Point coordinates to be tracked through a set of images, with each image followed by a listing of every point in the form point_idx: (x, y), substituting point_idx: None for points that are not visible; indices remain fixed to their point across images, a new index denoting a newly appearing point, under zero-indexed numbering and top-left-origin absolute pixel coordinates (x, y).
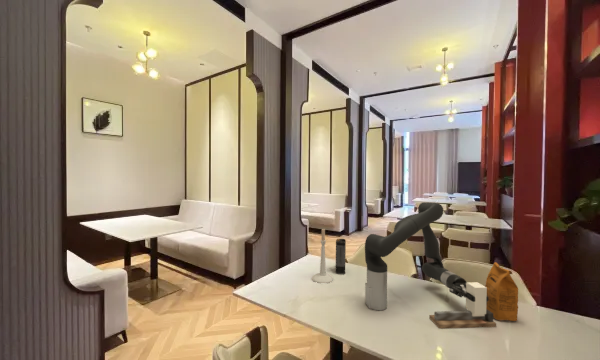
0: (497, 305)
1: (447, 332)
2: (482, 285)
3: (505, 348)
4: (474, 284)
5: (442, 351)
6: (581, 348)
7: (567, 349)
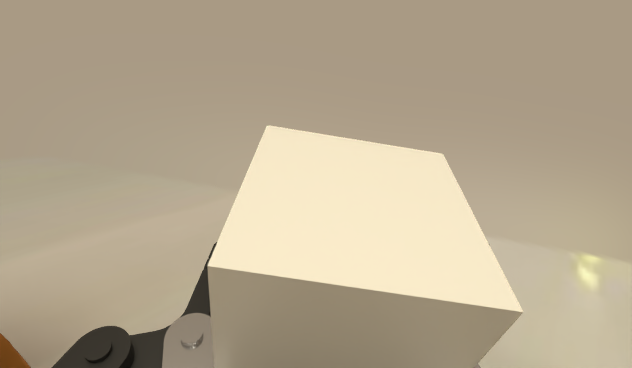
0: (25, 362)
1: (541, 362)
2: (261, 163)
3: None
4: (380, 210)
5: (575, 263)
6: (23, 173)
7: (89, 181)
